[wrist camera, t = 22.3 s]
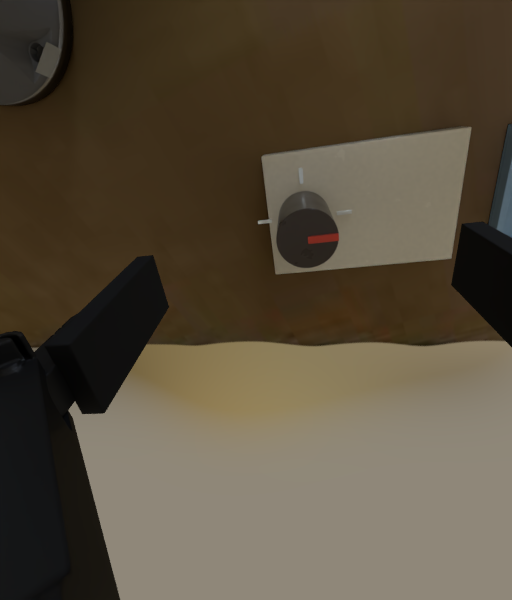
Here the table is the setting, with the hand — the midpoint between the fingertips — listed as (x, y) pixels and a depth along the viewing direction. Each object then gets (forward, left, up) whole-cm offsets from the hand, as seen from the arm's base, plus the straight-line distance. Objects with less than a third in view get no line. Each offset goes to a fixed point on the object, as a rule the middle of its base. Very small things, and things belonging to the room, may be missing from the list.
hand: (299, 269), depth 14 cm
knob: (+1, -3, -19) cm, 19 cm away
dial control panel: (+6, -3, -21) cm, 22 cm away
